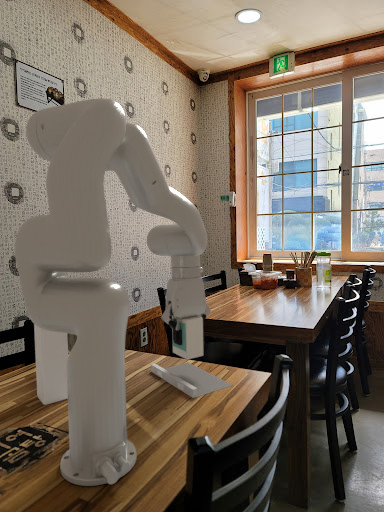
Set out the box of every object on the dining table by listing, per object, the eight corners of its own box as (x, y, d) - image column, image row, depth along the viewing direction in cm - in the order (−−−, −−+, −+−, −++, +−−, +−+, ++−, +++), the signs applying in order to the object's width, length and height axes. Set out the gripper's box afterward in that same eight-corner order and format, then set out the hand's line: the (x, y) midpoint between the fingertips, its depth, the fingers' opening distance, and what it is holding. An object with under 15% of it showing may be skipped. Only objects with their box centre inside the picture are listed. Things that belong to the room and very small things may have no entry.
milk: (44, 405, 84) (39, 311, 83) (37, 396, 89) (32, 306, 88) (70, 398, 88) (66, 307, 87) (62, 389, 93) (58, 303, 91)
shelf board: (233, 391, 90) (233, 377, 90) (192, 404, 84) (192, 389, 83) (188, 367, 107) (187, 355, 107) (150, 377, 100) (150, 364, 100)
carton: (203, 355, 96) (202, 317, 95) (186, 359, 93) (185, 320, 92) (188, 348, 101) (187, 312, 101) (172, 352, 98) (171, 315, 98)
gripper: (203, 269, 103) (205, 333, 105) (149, 274, 94) (151, 344, 95) (220, 271, 97) (221, 339, 99) (164, 277, 88) (166, 352, 89)
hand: (187, 341), depth 97 cm, fingers closed on carton, 5 cm apart
